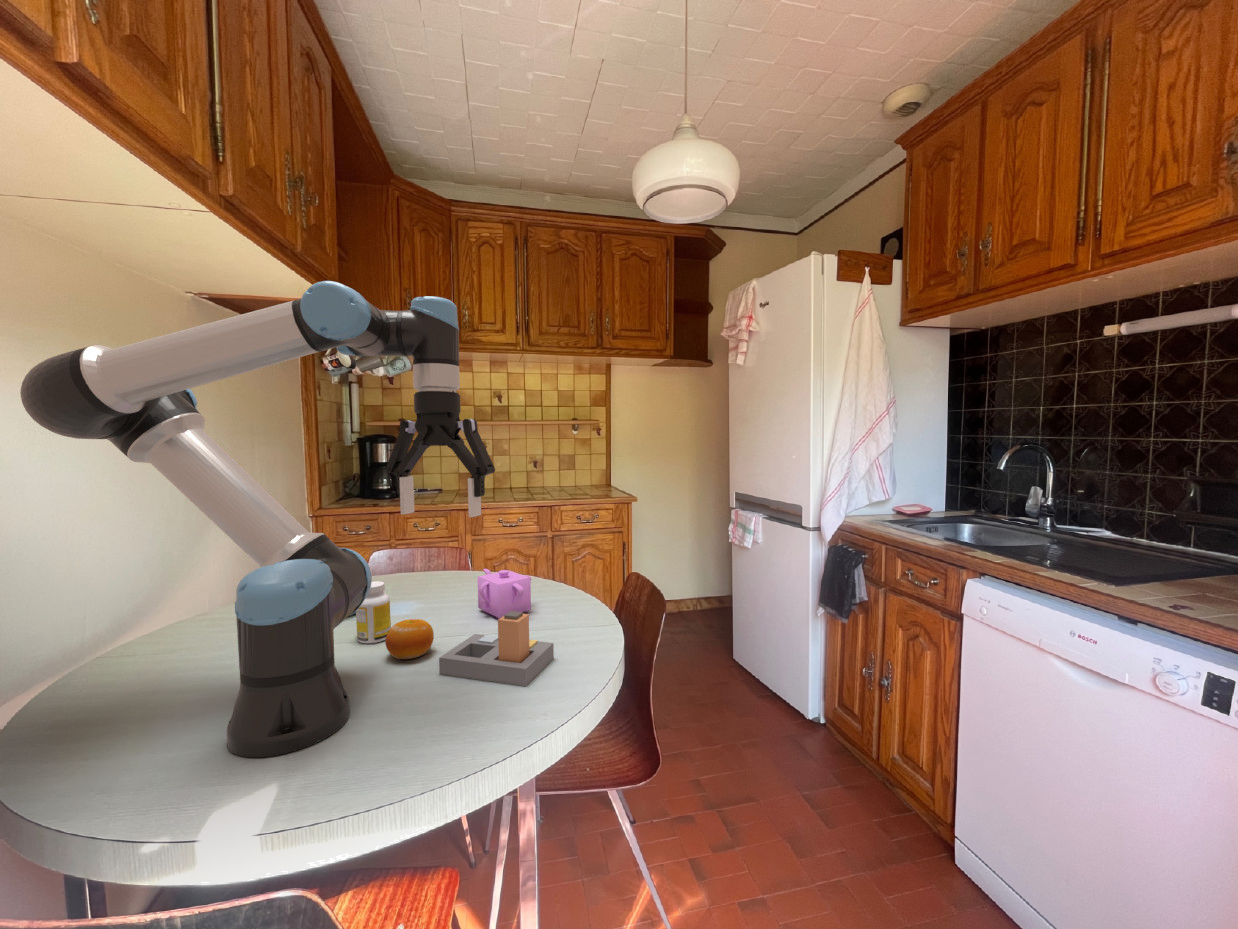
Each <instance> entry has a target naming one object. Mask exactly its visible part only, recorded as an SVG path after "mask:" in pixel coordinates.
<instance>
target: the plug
mask: <svg viewBox="0 0 1238 929" xmlns="http://www.w3.org/2000/svg"><path fill="white" fill-rule="evenodd" d="M497 636H498V648H499V661H507V662H515V663H522V662H523V661H524V660H525V659H526V658H528V657H529V656H530V653H529V640H530V614H528V613H524V612H516V611H510V612H509V613H507V614H505V615H504V616H503V617H501V618H497Z"/></svg>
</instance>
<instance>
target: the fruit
mask: <svg viewBox="0 0 1238 929" xmlns="http://www.w3.org/2000/svg"><path fill="white" fill-rule="evenodd" d="M434 637H435V634H434V629H433V627H432V625H431V624H430V623H429V622H428V621H426V620H424V619H421V618H420V619H419V618H415V619H412V618H411V619H405V620H404V619H403V620H401V621H399V622H396V623H395V624H393V625H391V628H390V630H389V631H388V633H387V636H386V639H385V640H384V641H385V647H386V650H387V651H388V652H389V654H390V655H392V656H393V658H396V659H398V660H411V659H416V658H418V657H421V656H423V655H425V654H426V653H427V652H428V651H429V650H430V649H431V646H432V645H433V642H434V639H435V638H434Z"/></svg>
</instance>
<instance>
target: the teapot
mask: <svg viewBox="0 0 1238 929" xmlns="http://www.w3.org/2000/svg"><path fill="white" fill-rule="evenodd" d="M483 571H484V575H478V576H477V606H478V607H477V609H479V610H482V611H484V612H485V613H486V614H490V615H492V616H493V617H496V619H500V618H501V617H503V616H504V615H505V614H507V613H509V612H510V611H516V612H523V613H524V612H527V611H531V610H532V594H531V592H532V590H531V588H532V587H531V584H532V583H531V581H532V577H531V576H530V575H528V574H527V575H526V574H524V575H523V574H520V573H518V572H515V571H512V570H510V569H501V570H499V571H497V572H493V573H492V572H491V570H489V569H488V568H483Z"/></svg>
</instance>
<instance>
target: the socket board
mask: <svg viewBox="0 0 1238 929" xmlns="http://www.w3.org/2000/svg"><path fill="white" fill-rule="evenodd" d="M554 648H555V647H554V642H549V641H540V640H537V639H529V653H530V656H529V657H528V658H526V659H525V660H524V661H523V662H522V663H515V662H507V661H499V648H498V635H493V634H477V633H474V634H472V635H470V636H469V637H468V638H467V639H465V640H463V641H462V642H461V643H459V644H457V645H456V646H453V648H451V649H450V650H449V651H447V652H445V653H444V654H442V655H441V656H439V657H438V662H439V663H438V664H439V666H438V669H439V675H443V676H450V677H457V678H465V679H471V680H472V679H473V680H479V681H486V682H492V683H500V684H506V685H514V686H520V687H527V686H528V685H529V684H531V682H532V681H533V680H534V679H535V678H536V677H537V676H538V675H539V674H540V673H541V672H542V671H543V670H544V669H545V668H546V667H547V666H548V665H549V664H550V663H551V662H552V661H553V660H554V659H555V658H554V657H555V653H554Z"/></svg>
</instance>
